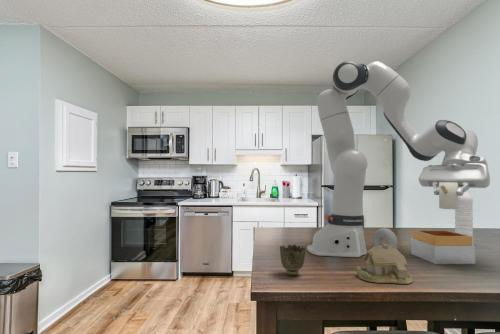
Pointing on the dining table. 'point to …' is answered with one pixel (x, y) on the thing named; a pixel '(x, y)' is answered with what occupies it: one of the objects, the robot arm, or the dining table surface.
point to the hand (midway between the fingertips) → (447, 194)
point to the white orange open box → (443, 247)
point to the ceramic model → (384, 266)
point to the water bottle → (464, 215)
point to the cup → (292, 258)
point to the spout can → (448, 195)
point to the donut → (387, 234)
